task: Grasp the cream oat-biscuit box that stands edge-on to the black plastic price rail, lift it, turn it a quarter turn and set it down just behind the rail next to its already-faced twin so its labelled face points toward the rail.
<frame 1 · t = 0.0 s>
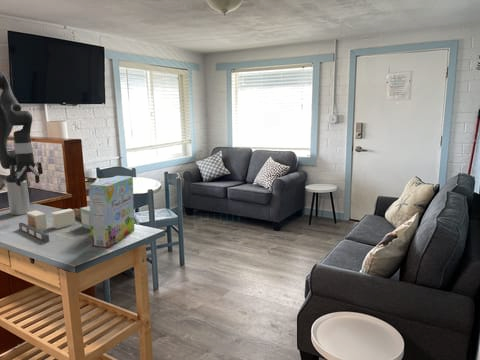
hand: (28, 184, 181), 17 cm above the table, tool pointing down, fingers open, 8 cm apart
price rail: (33, 235, 159), on the table
snack box: (115, 238, 156), on the table
sage tea tin: (91, 226, 171), on the table
skincare box: (107, 230, 166), on the table
biscuit box: (64, 225, 172), on the table
faced twin box: (37, 227, 170), on the table
shelf back lip: (88, 220, 179), on the table
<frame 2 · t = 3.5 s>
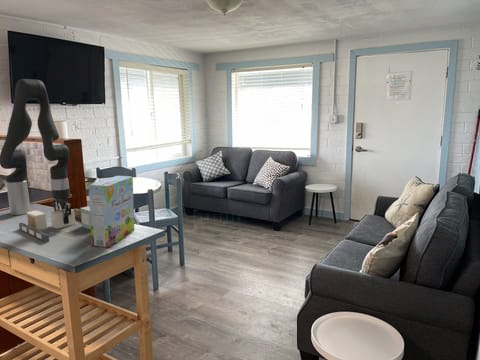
hand: (63, 222, 172), 1 cm above the table, tool pointing down, fingers closed on biscuit box, 4 cm apart
biscuit box: (63, 225, 172), on the table, touching gripper
everything else where it was.
when the fingers open (3 cm above the table, at t = 9.3 s): biscuit box drops 1 cm, on the table.
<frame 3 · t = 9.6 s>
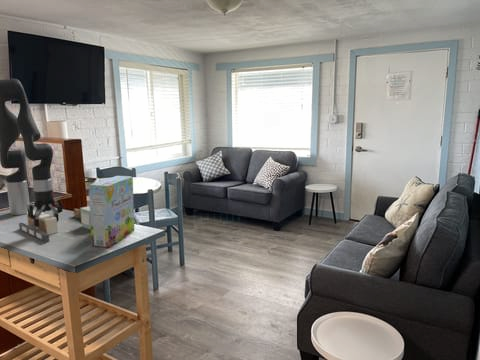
hand: (46, 224, 163), 3 cm above the table, tool pointing down, fingers open, 7 cm apart
biscuit box: (48, 231, 164), on the table
everything else where it was.
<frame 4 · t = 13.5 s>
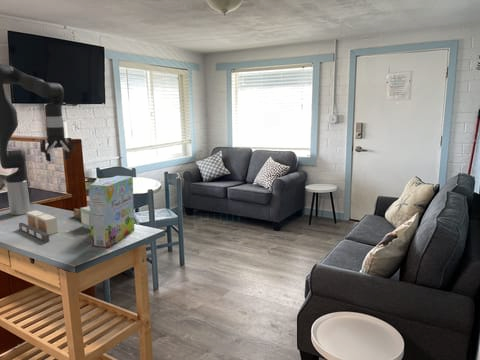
hand: (58, 160, 174), 30 cm above the table, tool pointing down, fingers open, 8 cm apart
nothing on the table moved.
at the end: biscuit box inside the target area (0.1 cm from its centre), on the table; biscuit box tilted 0°; the gripper is holding nothing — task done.
